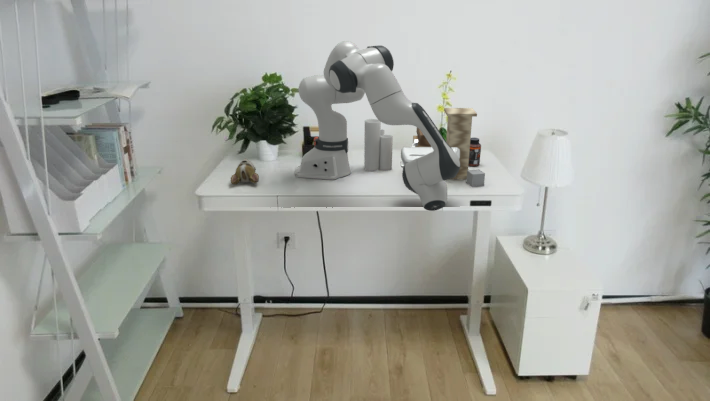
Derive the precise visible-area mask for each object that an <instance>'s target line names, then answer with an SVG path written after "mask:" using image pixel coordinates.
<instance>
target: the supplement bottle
mask: <svg viewBox="0 0 710 401" xmlns="http://www.w3.org/2000/svg"><path fill="white" fill-rule="evenodd" d="M481 152H482V144H481V143H480V138H478V137H471V138H470V151H469V163H468V167H469V166H470V167H478V166H479V165H480V162H481Z"/></svg>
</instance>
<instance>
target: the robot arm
mask: <svg viewBox="0 0 710 401" xmlns="http://www.w3.org/2000/svg"><path fill="white" fill-rule="evenodd" d="M394 62H395V61H394V57H393V55H392V53H391V51H390V50H389V49H388V48H387V47H386V46H383V45H371V46H370V45H369V46H367V47H366V48H364V49H360V48H359V47H358V46H357V45H356V44H355V43H353V42H352V41H349V40H346V41H345V40H344V41H340V42H339V43H337V44H336V45H335V46H334V47H333V49H331V51H330V53H329V56H328V57H327V59H326V63H325V65H324V68H323V74H321V75H320V74H319V75H318V74H317V75H310V76H308V77H303V78H302V79H301V81H300V82H299V86H298V95H299V98H300V100H301V101H302V102H303V103H304V104H306V105H307V106H308V107H309V108H311V110H312V111H313V113H314V115H315V117H316V119H317V126H318V136H314V137H313V146H314V147H313V148H311V149H310V150H309V151H308V152H306V153H305V154H304V155H303V157H302V158H301V161H300V165H299V166H297V167H296V168H295V171H294V173H295V174H294V175H295V176H296V177H297V178H303V179H319V180H330V181H331V180H333V181H334V180H337V179H339V178H342V177H347V176H348V175H350V174H351V173H352V169H351V166H350V163H349V162H350V160H349V154H348V153H349V138H348V124H347V123H348V121H347V119H346V117H345V116H344V115H343V114H342V113H340V112H337V111H336V110H333V109H332V106H333V105H337V104H350V103H354V102H358V101H361V100H362V99H363V98H364V95H365V96H366V98H367V101H368V103H369V105H370V108H371V111H372V113H373V114H374V115H375V118H376V119H377V120H379V121H381V124H383V125H384V124H385V125H388V126H413V127H415V128H416V129H417V128H419V129H420V130H421V132H422V133H423V135H424V136H425V138H426V139H427V141H428V142H429V144H430V145H431V147H415V146H418V139H414V141H413V140H412V144H411V145H410V146H403V147H402V148H401V150H400V158H401V161H400V167H401V168H402V173H401V174H402V181H403V184H404V186H405V187H406V188H407V189H408V190H410V192H412V193H414V194H416V195H418V198H419V199H420V202H421V206H422V208H423V209H424V210H426V211H430V212H435V211H438V210H440V209H443V208H445V206H446V205H447V202H448V185H447V182H446V181H448V180H453V179H452V178H455V177H456V175H457V174H458V172H459V169H460V166H461V165H460V161H459V159H460V149H459V148H457V147H450V146H449V145H448V143H447V142H446V139H445V137H444V136H443V135H442V133H441V131H440V130H439V128H438V127H437V126H436V124H435V123H434V121H433V120H432V118H431V117H430V116H429V114H428V112H427V111H426V109H424V108H423V106H422V105H421V104H419V102H413V101H411V100H410V99H409V98H408V97H407V96H406V95H405V93H404V91H403V89H402V87H401V84H400V83H399V82H398V79H397V78H396V76H395V74H394V73H393V70H394V65H395V64H394Z"/></svg>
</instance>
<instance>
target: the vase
mask: <svg viewBox="0 0 710 401" xmlns="http://www.w3.org/2000/svg"><path fill="white" fill-rule="evenodd" d="M381 124H382V122H381V121H379V120H378V119H377V118H369V119H365V120H364V150H363V151H364V154H363V156H364V160H363V163H364V166H363V168H364V170H365V171H368V172H376V171H379V170H380V171H385V172H386V171H391V170H392V169H393V142H394V141H393V140H394V137H393V135H391V134H385V129H381Z"/></svg>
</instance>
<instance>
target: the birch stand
mask: <svg viewBox="0 0 710 401" xmlns="http://www.w3.org/2000/svg"><path fill="white" fill-rule="evenodd" d="M443 111H444V113H445V116H446V117H447V122H446V124H447V125H446V126H447V127H446V139H445V141H446V142H447V143H448V145H449V146H450V147H457V148H459V149H460V159H459V161H460V165H461V166H460V169H459V172H458V174H457V175H456V177H455V178H452V179H451V180H466V179H467V170H470V169H469V166H468V163H469V151H470V138H472V137H471V136H472V124H473V118H474V117H477V116H478V113H477V112H476V111H475V109H474V108H473V107H444V109H443Z"/></svg>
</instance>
